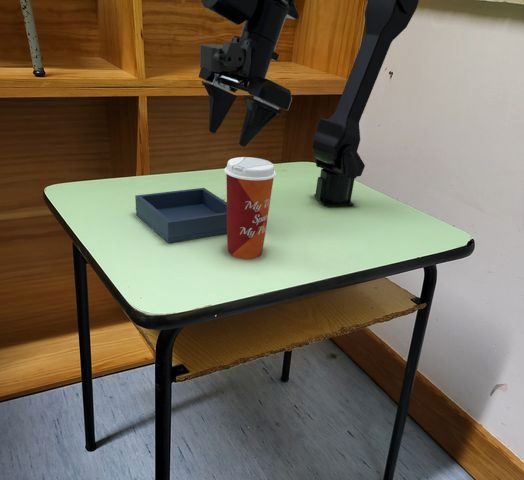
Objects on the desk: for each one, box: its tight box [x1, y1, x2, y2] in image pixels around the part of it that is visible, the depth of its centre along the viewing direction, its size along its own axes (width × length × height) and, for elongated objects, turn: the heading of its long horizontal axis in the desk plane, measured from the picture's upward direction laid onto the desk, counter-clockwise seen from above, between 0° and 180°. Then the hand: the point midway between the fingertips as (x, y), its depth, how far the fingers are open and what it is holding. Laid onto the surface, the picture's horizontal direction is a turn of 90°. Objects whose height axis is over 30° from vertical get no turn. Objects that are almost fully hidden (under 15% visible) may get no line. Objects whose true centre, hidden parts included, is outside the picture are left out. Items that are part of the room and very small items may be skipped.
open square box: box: [134, 187, 227, 244], centre depth 93 cm, size 14×14×4 cm
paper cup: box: [223, 156, 277, 260], centre depth 82 cm, size 8×8×14 cm
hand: (226, 139), depth 88 cm, fingers open, 9 cm apart
